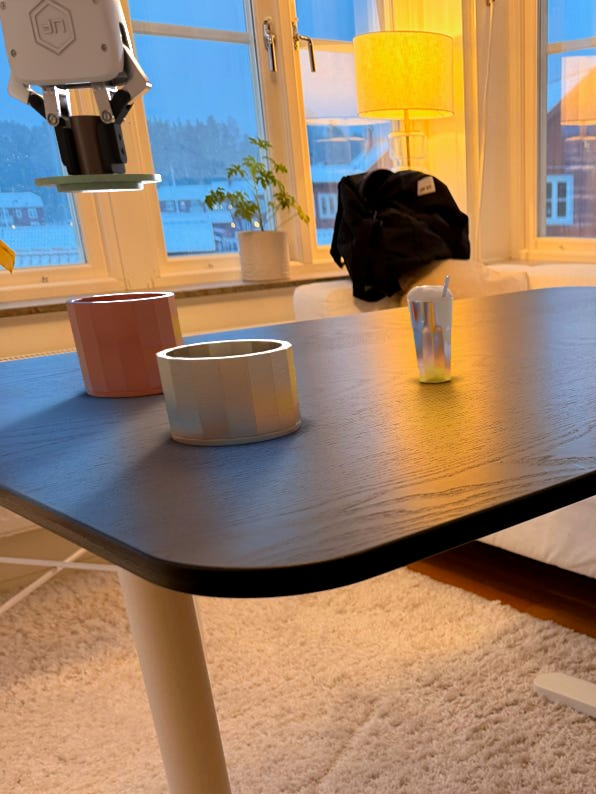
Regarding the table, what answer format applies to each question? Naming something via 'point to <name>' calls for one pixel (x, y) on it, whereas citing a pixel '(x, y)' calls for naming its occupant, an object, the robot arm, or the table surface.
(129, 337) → the cup
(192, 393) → the tin
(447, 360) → the milkshake
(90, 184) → the lid
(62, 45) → the robot arm
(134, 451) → the table surface
